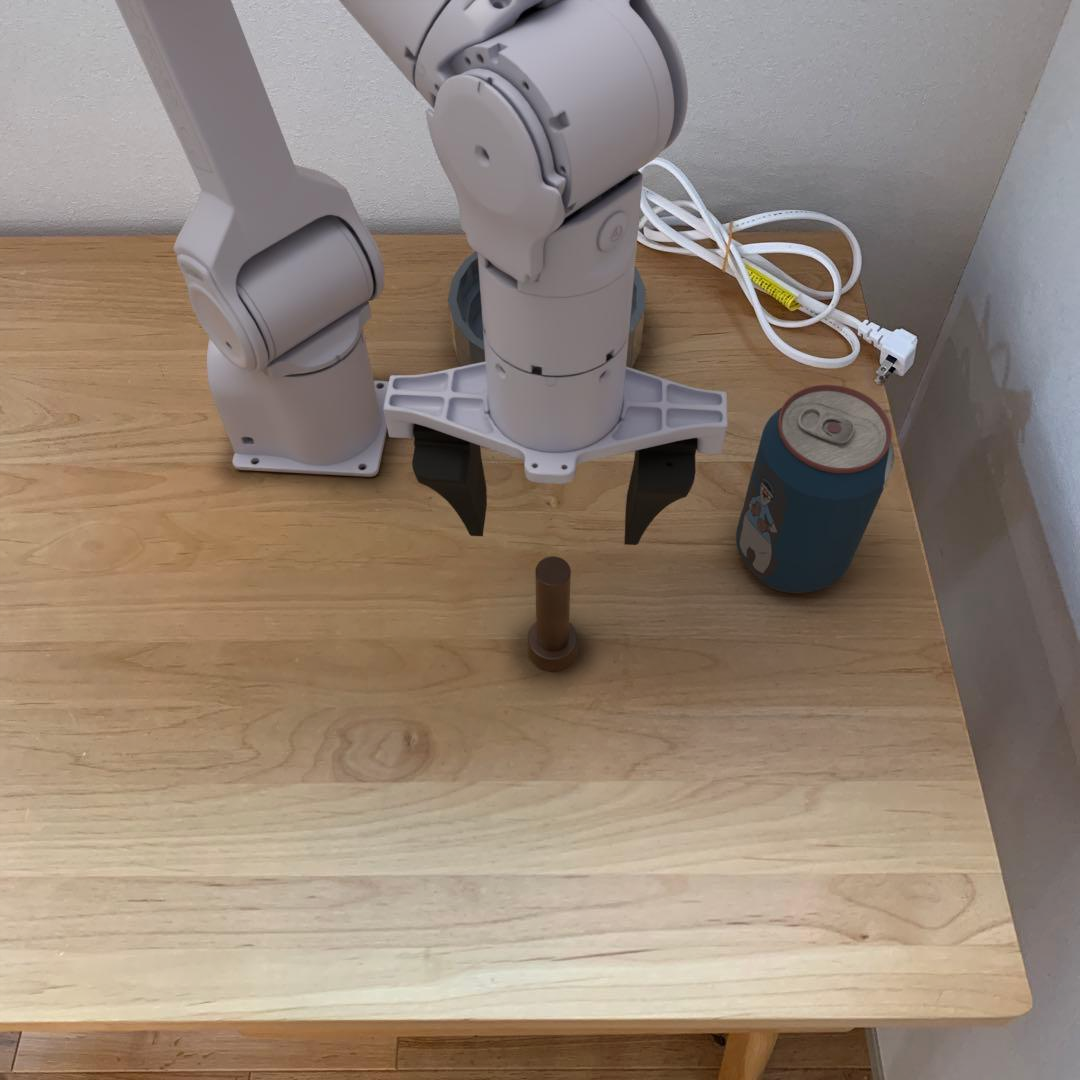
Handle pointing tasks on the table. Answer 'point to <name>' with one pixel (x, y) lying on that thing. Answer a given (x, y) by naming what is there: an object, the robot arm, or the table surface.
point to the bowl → (470, 323)
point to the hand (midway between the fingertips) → (554, 524)
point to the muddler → (552, 617)
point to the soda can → (814, 487)
